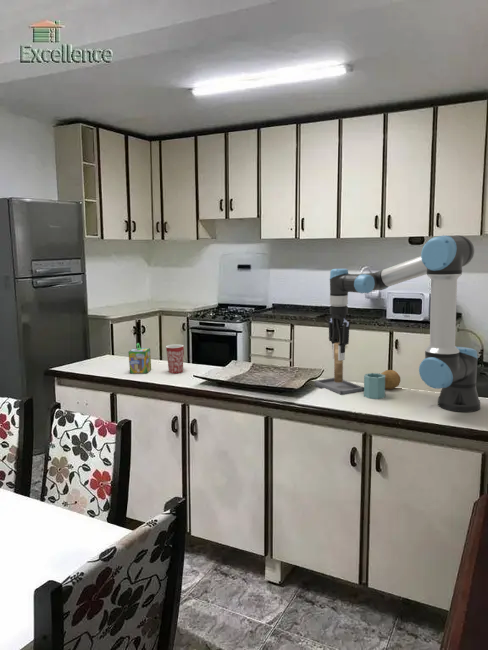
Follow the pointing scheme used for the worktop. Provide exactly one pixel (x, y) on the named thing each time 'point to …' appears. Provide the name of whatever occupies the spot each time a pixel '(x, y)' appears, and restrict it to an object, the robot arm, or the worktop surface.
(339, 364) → the dowel
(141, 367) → the chalk box
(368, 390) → the cup
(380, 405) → the worktop surface
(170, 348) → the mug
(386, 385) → the potato
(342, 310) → the robot arm
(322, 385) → the tray
